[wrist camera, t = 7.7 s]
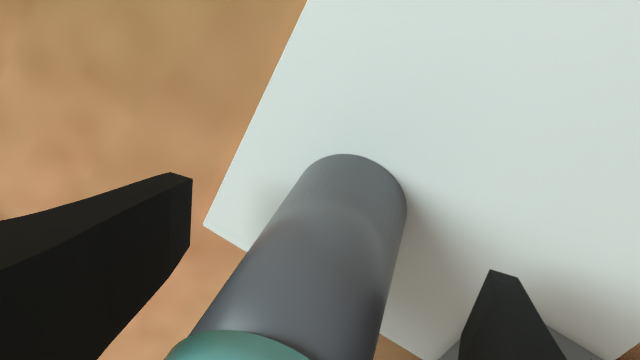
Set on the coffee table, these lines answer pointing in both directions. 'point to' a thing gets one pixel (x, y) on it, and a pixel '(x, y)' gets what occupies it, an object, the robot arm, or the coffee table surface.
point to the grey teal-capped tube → (311, 272)
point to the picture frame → (573, 352)
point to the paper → (469, 153)
